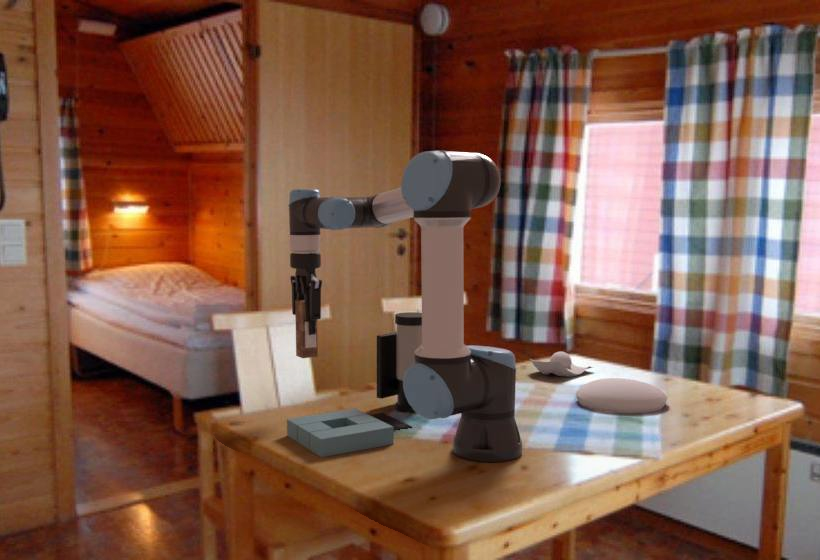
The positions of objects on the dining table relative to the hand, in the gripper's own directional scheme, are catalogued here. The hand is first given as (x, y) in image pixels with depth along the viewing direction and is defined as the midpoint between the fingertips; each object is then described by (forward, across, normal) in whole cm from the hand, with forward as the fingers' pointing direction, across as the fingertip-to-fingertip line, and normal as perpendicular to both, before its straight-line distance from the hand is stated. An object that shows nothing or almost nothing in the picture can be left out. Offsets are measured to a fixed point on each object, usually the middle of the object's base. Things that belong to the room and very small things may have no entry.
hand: (306, 345), depth 210 cm
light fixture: (+18, -6, -26) cm, 32 cm away
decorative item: (+19, -32, -77) cm, 85 cm away
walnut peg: (+3, 0, 0) cm, 3 cm away
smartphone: (+19, -15, -14) cm, 28 cm away
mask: (+19, +5, -87) cm, 89 cm away
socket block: (+18, -22, +2) cm, 28 cm away
